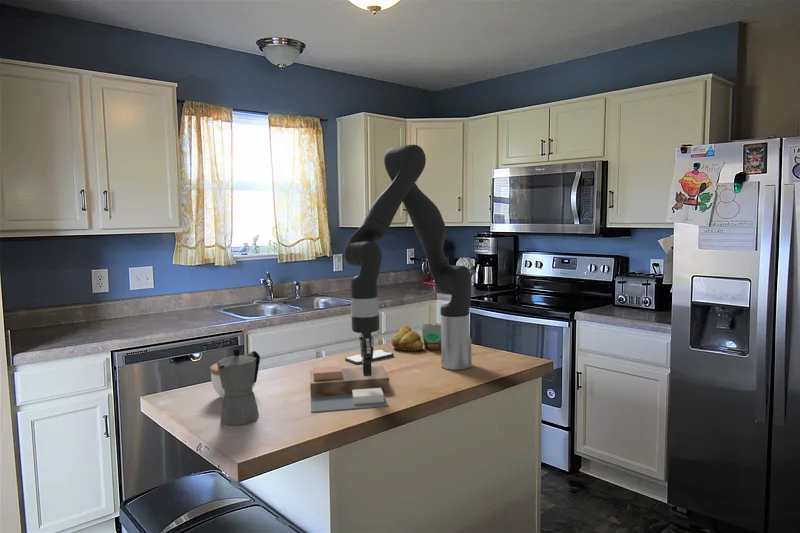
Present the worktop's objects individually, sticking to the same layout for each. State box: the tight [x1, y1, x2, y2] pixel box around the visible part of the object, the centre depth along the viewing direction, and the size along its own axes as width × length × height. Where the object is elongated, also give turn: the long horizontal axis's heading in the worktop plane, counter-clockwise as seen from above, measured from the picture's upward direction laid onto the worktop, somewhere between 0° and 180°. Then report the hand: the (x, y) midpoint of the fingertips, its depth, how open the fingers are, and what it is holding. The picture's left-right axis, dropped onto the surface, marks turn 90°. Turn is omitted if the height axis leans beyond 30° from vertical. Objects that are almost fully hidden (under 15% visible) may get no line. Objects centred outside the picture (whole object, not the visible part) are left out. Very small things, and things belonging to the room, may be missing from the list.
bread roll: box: [391, 325, 424, 352], centre depth 205 cm, size 13×10×8 cm
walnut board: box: [309, 365, 390, 398], centre depth 160 cm, size 22×13×4 cm, turn 100°
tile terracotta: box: [312, 365, 343, 380], centre depth 158 cm, size 8×6×2 cm
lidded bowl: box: [209, 362, 257, 400], centre depth 155 cm, size 13×13×11 cm
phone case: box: [344, 349, 395, 366], centre depth 193 cm, size 9×2×16 cm
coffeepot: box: [216, 347, 261, 427], centre depth 137 cm, size 15×9×18 cm, turn 159°
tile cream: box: [352, 388, 385, 404], centre depth 149 cm, size 8×6×2 cm
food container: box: [420, 322, 441, 352], centre depth 202 cm, size 12×6×10 cm, turn 80°
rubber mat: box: [310, 393, 390, 414], centre depth 148 cm, size 20×12×1 cm, turn 100°
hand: (367, 375), depth 152 cm, fingers closed
